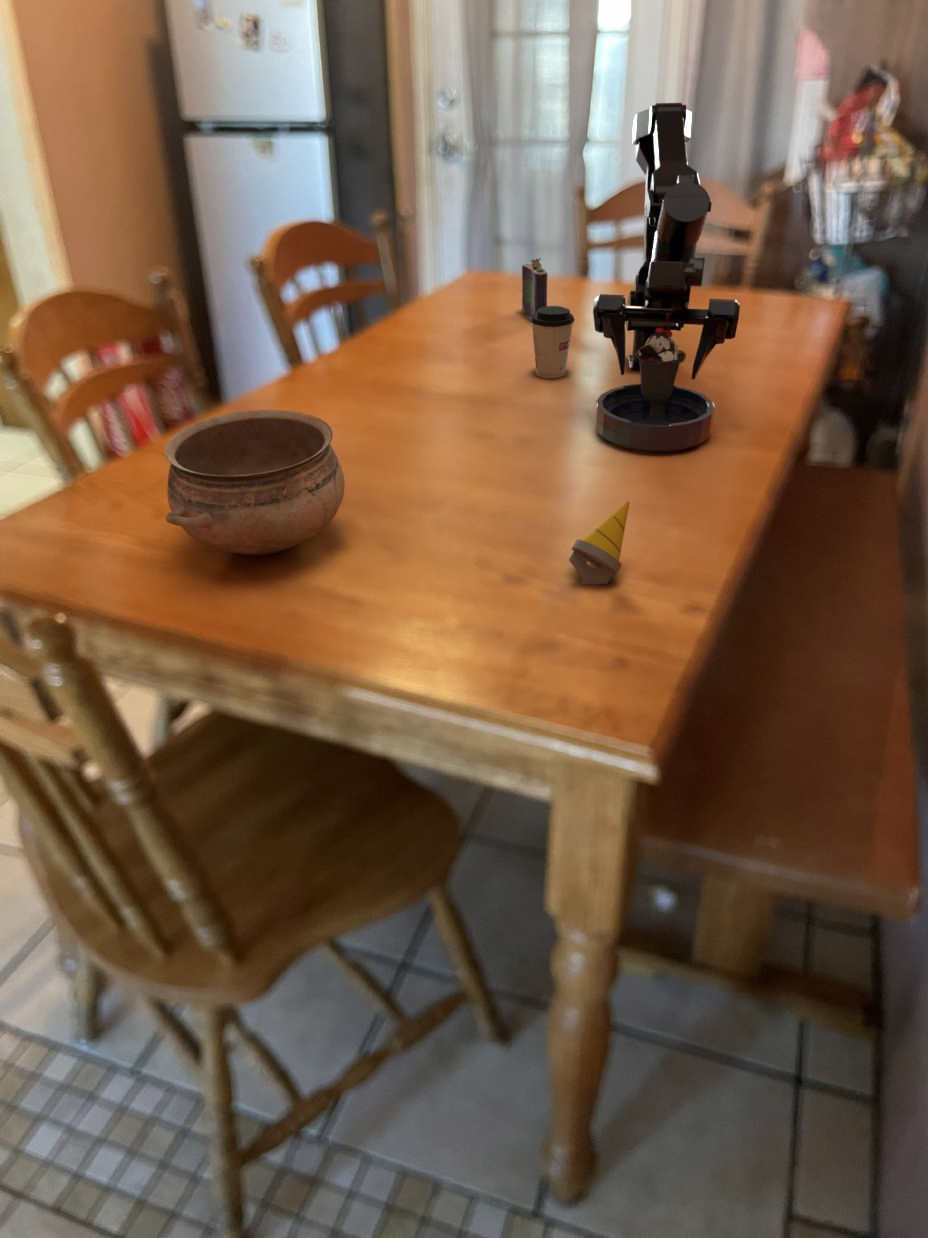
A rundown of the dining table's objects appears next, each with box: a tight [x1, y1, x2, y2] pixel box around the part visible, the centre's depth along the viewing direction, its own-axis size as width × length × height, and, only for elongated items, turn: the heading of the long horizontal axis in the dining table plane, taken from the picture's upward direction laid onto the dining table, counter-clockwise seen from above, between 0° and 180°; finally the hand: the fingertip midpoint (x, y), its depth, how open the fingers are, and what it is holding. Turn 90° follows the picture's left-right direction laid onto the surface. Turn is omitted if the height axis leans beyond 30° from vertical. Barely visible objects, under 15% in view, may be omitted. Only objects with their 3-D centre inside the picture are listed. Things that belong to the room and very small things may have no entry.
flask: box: [521, 257, 548, 319], centre depth 170 cm, size 9×3×11 cm, turn 17°
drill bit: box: [568, 500, 630, 585], centre depth 94 cm, size 5×5×10 cm
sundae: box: [635, 313, 687, 424], centre depth 121 cm, size 7×7×15 cm
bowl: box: [594, 383, 716, 454], centre depth 125 cm, size 16×16×4 cm
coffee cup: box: [529, 305, 576, 379], centre depth 144 cm, size 7×7×10 cm
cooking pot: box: [164, 409, 345, 557], centre depth 100 cm, size 25×19×12 cm
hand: (657, 375), depth 120 cm, fingers open, 9 cm apart
